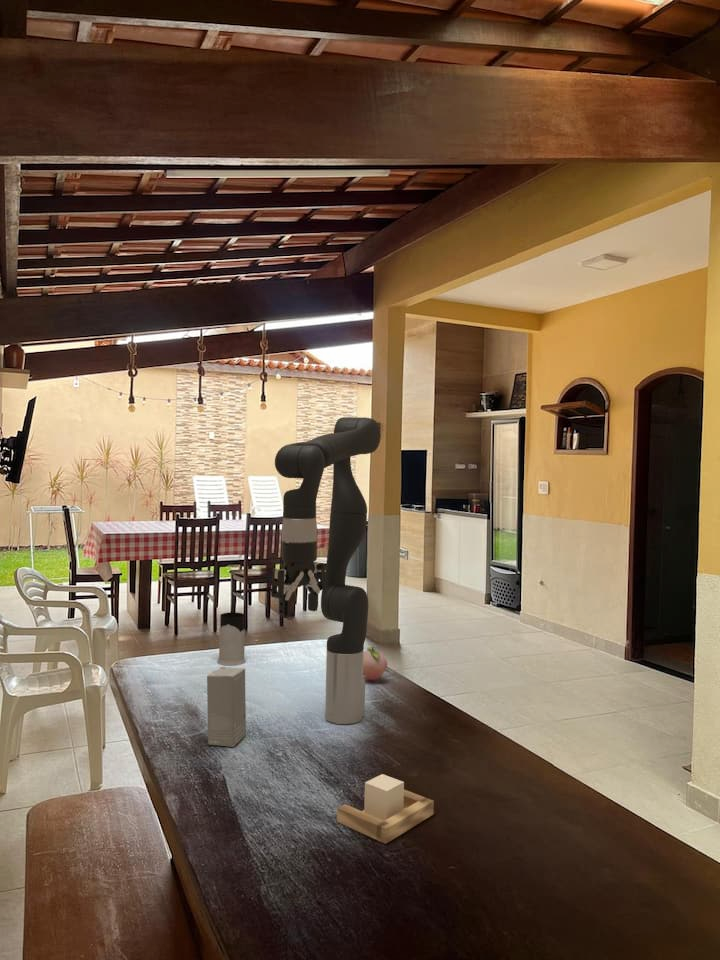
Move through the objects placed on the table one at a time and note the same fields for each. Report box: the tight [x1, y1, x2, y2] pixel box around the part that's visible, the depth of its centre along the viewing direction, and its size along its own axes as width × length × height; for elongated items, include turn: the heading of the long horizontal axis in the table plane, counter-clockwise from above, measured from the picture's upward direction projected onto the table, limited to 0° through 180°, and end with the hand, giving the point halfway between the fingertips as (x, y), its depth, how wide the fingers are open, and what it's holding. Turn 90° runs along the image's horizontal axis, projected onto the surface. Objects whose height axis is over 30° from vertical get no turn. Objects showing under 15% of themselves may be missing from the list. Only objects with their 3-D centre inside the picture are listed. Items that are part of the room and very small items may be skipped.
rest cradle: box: [336, 789, 435, 845], centre depth 130 cm, size 14×11×2 cm
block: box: [363, 773, 405, 821], centre depth 131 cm, size 5×5×6 cm
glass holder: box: [217, 612, 246, 667], centre depth 232 cm, size 9×14×15 cm, turn 170°
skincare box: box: [206, 666, 247, 748], centre depth 165 cm, size 8×7×16 cm
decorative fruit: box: [363, 646, 388, 682], centre depth 213 cm, size 9×8×10 cm
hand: (299, 614), depth 156 cm, fingers open, 8 cm apart
